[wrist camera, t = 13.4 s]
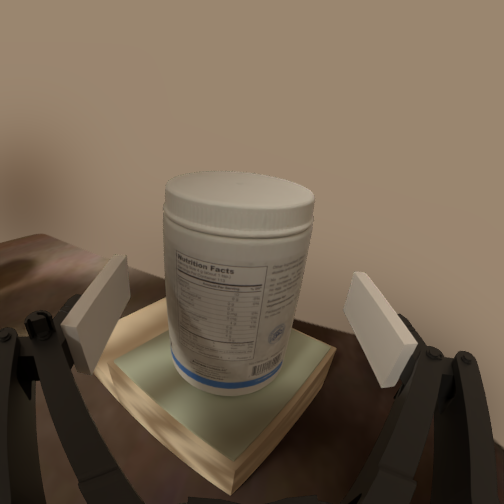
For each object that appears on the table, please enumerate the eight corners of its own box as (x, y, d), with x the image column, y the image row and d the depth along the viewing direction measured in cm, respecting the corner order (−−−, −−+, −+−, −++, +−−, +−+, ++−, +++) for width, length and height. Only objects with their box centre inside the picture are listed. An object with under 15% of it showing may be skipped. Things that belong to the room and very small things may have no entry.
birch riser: (82, 359, 28) (69, 316, 25) (179, 308, 40) (178, 269, 38) (230, 495, 17) (235, 469, 14) (321, 387, 29) (337, 346, 27)
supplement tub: (190, 316, 29) (193, 166, 23) (285, 332, 28) (312, 180, 22) (154, 386, 20) (133, 192, 14) (278, 412, 19) (325, 215, 13)
